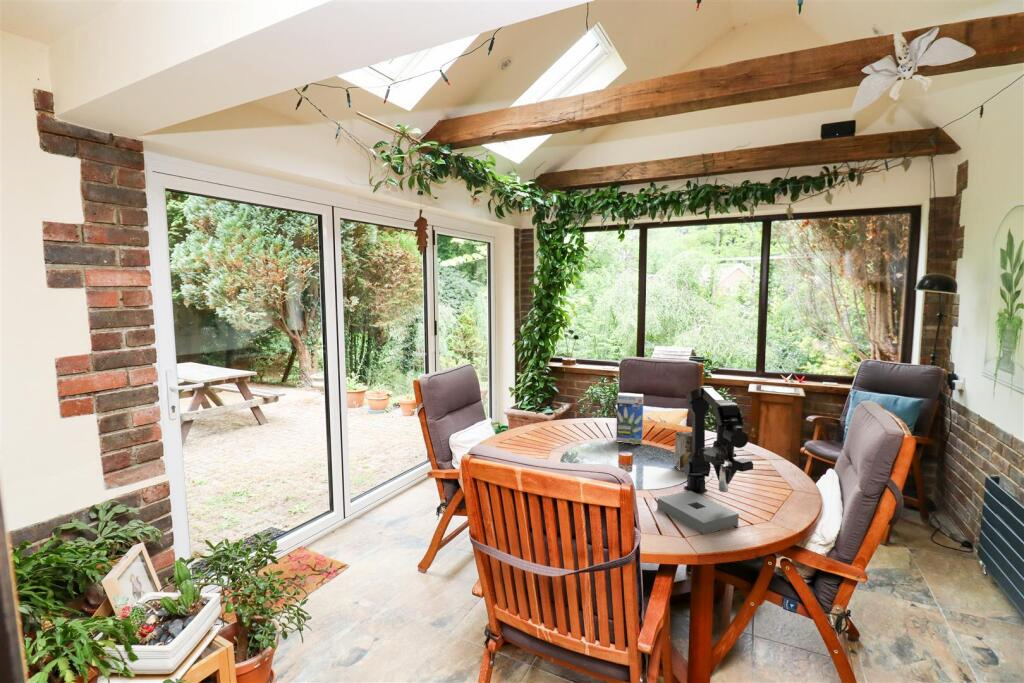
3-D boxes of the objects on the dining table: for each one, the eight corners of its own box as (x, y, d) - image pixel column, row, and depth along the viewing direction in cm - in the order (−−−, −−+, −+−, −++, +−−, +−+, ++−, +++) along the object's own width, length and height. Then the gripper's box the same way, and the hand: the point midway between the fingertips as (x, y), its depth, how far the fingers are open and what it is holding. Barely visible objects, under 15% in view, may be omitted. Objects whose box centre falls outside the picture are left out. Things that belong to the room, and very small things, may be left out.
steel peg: (716, 489, 176) (717, 465, 175) (722, 488, 178) (723, 463, 177) (724, 492, 174) (725, 467, 173) (730, 491, 175) (731, 466, 174)
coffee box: (693, 465, 229) (695, 431, 227) (699, 470, 223) (700, 435, 221) (674, 466, 229) (675, 431, 227) (679, 471, 222) (680, 435, 221)
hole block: (657, 508, 184) (657, 498, 183) (689, 500, 191) (690, 490, 190) (703, 534, 164) (704, 522, 164) (738, 524, 171) (738, 513, 171)
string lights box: (615, 443, 263) (616, 394, 261) (617, 439, 271) (618, 392, 268) (641, 445, 260) (643, 396, 257) (642, 441, 267) (643, 393, 264)
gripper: (687, 435, 178) (686, 477, 180) (732, 449, 162) (730, 496, 163) (710, 431, 183) (708, 472, 185) (755, 444, 167) (753, 490, 168)
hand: (723, 482), depth 175 cm, fingers closed on steel peg, 3 cm apart
